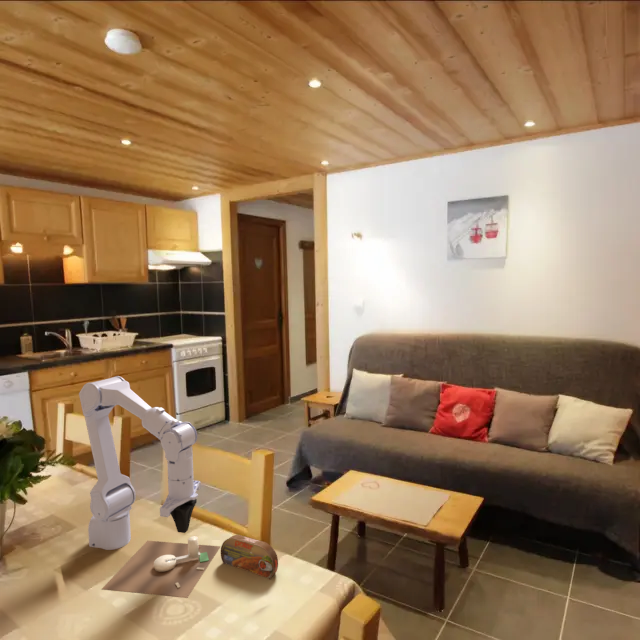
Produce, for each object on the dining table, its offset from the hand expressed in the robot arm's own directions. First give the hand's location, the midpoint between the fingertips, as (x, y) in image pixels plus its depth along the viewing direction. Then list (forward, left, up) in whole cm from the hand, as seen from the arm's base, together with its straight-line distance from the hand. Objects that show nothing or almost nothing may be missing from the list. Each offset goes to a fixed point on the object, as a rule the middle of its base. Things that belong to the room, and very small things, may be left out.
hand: (182, 531), depth 109 cm
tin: (+16, 0, -10) cm, 19 cm away
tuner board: (-4, -2, -9) cm, 10 cm away
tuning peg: (-1, -1, -7) cm, 8 cm away
